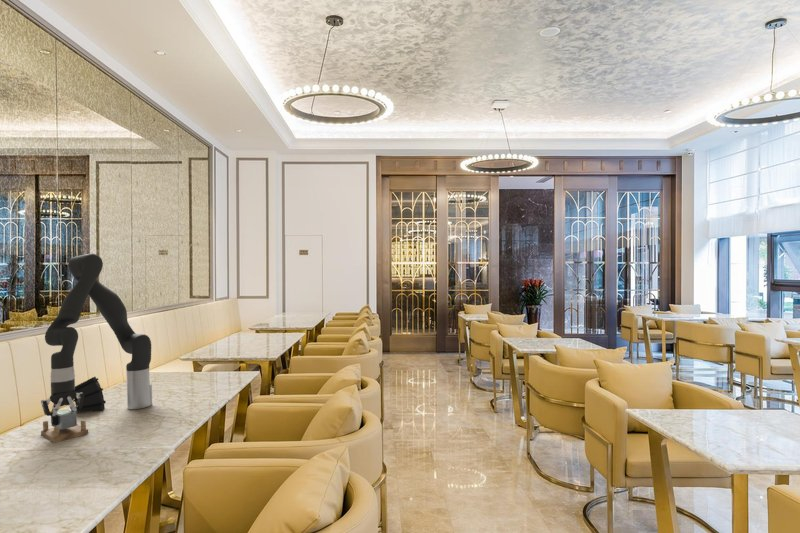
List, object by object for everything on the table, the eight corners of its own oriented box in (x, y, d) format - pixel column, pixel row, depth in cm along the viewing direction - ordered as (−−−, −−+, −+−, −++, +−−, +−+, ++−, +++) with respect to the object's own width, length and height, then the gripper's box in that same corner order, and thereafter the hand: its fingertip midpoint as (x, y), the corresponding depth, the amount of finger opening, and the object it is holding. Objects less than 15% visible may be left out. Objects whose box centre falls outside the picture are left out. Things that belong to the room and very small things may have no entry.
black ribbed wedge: (108, 406, 210) (92, 377, 209) (80, 421, 208) (63, 392, 207) (112, 404, 214) (96, 375, 213) (85, 418, 212) (68, 389, 211)
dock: (74, 426, 189) (74, 414, 189) (88, 433, 179) (87, 420, 180) (41, 434, 180) (40, 421, 180) (54, 442, 171) (53, 428, 171)
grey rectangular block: (66, 422, 184) (66, 409, 184) (76, 425, 179) (76, 412, 179) (51, 425, 180) (51, 412, 180) (61, 429, 175) (61, 416, 175)
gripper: (80, 374, 188) (81, 416, 188) (36, 381, 177) (38, 426, 176) (87, 376, 183) (88, 419, 183) (43, 384, 172) (44, 430, 172)
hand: (63, 423), depth 180 cm, fingers closed on grey rectangular block, 5 cm apart
